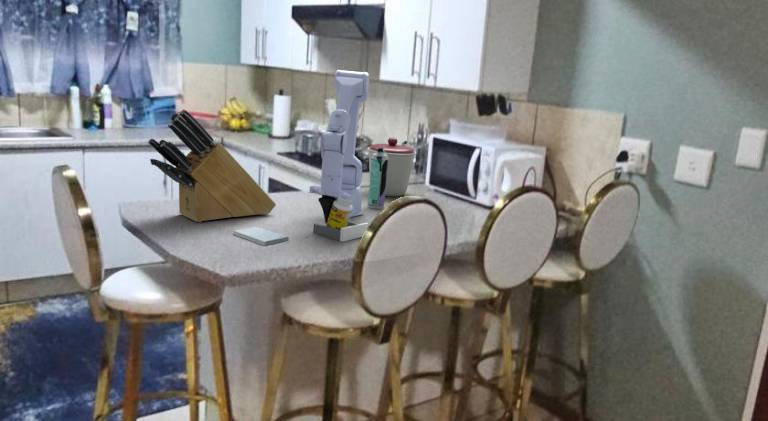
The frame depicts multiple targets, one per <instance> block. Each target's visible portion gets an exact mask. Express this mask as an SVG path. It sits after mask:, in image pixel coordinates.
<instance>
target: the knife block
mask: <svg viewBox="0 0 768 421" xmlns="http://www.w3.org/2000/svg"><path fill="white" fill-rule="evenodd" d="M170 120H171V121H170V122H169V123H168V124H167V127H168V128H169V129H170V130H171V131H172V132H173V133H174V134H175V135H176V137H178V139H179V140H180V141H181V142H182V143H183V144H184V145H186V147H187V148H188V149H189V150H190V151H189V152H188V153H187V154H186V155H185V153H184V152H183V151H181V149H179V148H178V147H177V146H176V145H175V144H173V142H170V141H168V142H167V141H166V140H164V139H161V140H159V142H158V141H156V139H154V138H150V139H149V140H148V141H147V143H148V144H149V145H150V146H151V147H152V148H153V149H155V151H156V152H157V153H159V155H161V156H162V157H163V158H164V159H165V160H166V161H167V162H168V163H167V162H164V161H161V160H158V159H155V158H150V159H149V160H150V164H151V165H152V166H155V167H156V168H158V169H159V170H160V171H161V172H162V173H164V174H165V175H166V176H168V177H169V178H170V179H171V180H173V181H174V182H175V183H178V204H179V214H180V215H183V216H185V217H187V218H188V219H190V220H192V221H195V223H202V222H203V221H204V222H205V221H210V220H211V221H213V220H218V219H225V218H233V217H234V218H235V217H236V218H237V217H246V216H255V215H261V216H262V215H265V214H270V213H271V212H272V211H273V209H274V208H275V207H276V206H277V204H276V202H275V201H274V200H273V199H272V198H271V197H270V196H269V195H268V194H267V192H266V191H265V190H264V189H263V188H262V187H261V186H260V185H259V184H258V183H257V182H256V180H255V179H254V178H253V177H252V176H251V175H250V173H248V172H247V170H246V169H245V168H244V167H243V166H242V165H241V164H240V163H239V162H238V161H237V159H236V158H235V157H234V156H233V155H232V154H231V153H230V152H229V150H227V149H226V148H225V147H224V146H223V144H222V143H218V142H216V141H215V139H214V138H213V137H212V136H211V135H210V134H209V132H208V131H207V130H206V129H205V128H204V127H203V125H202V124H201V123H200V122H199V121H197V119H196V118H195V117H193V115H192V114H191V113H190V112H188V111H187V110H186V109H182V110H181V111H180V112H179V114H178V113H174V114H172V116H171V117H170Z"/></svg>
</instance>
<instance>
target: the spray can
mask: <svg viewBox="0 0 768 421" xmlns="http://www.w3.org/2000/svg"><path fill="white" fill-rule="evenodd" d="M387 167H388V155H386V154H385V152H384V151H383V148H378V150H377V151H376V153H374V154H372V160H371V172H370V173H369V187H368V201H367V207H368V208H370V209H375V210H376V209H377V210H379V209H381V210H382V209H384V207H385V201H386V200H385V198H386V196H385V189H386V178H387Z"/></svg>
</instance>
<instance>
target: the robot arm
mask: <svg viewBox="0 0 768 421" xmlns="http://www.w3.org/2000/svg"><path fill="white" fill-rule="evenodd" d="M333 87H334V89H335V90H334V91H335V92H336V93H335V94H336V95H337V100H336V101H337V102H336V109H334V110H333V111H332V112H331V113H330V116H329V120H328V122H327V127H326V131H325V132H323V133H322V135H321V139H320V149H321V150H320V152H321V157H320V158H321V159H322V160H321V161H322V162H321V163H322V164H321V176H320V185H319V186H318V185H310V186H309V193H310V194H315V195H319V196H321V197H319V198H318V200H317V201H318V202H319V204H320V207H321V209H322V213H323V216H324V222H325V224H327V221H328V218H329V215H330V212H331V209H332V206H333V202H334V201H335V200H337V199H338V197H342V198H344V199H346V200H347V201H349V200H352V203H351V205H352V207H353V209H352V212H351V215H350V218H352V217H357V216H362V215H364V212H362V204H363V201H362V200H363V192H362V189H361V188H360V186H361V185H362V180H363V163H362V161H361V160H360V159H358V158H357V156H355V154H356V147H357V146H356V145H357V136H358V127H359V116H360V108H361V105H362V103H364V102H366V101H368V97H369V89H370V74H369V73H368V72H367V71H363V72H362V71H353V70H352V71H351V70H341V69H337V70H336V71H335V73H334V78H333ZM350 165H351V166H350ZM347 203H348V202H347Z"/></svg>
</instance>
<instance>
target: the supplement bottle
mask: <svg viewBox="0 0 768 421" xmlns="http://www.w3.org/2000/svg"><path fill="white" fill-rule="evenodd" d="M347 202H348V203H347ZM351 203H352V200H349V201H347V200H346V199H344V198H342V197H338V199H337V200H335V201H334V202H333V206H332V209H331V212H330V215H329V218H328V221H327V223H326V225H325V226H326V227H330V228H333V229H336V230H340V231H341V228H344V227H347V224H348V221H350V218H351V217H350V215H351V212H352V209H353V207H352V205H351Z"/></svg>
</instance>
